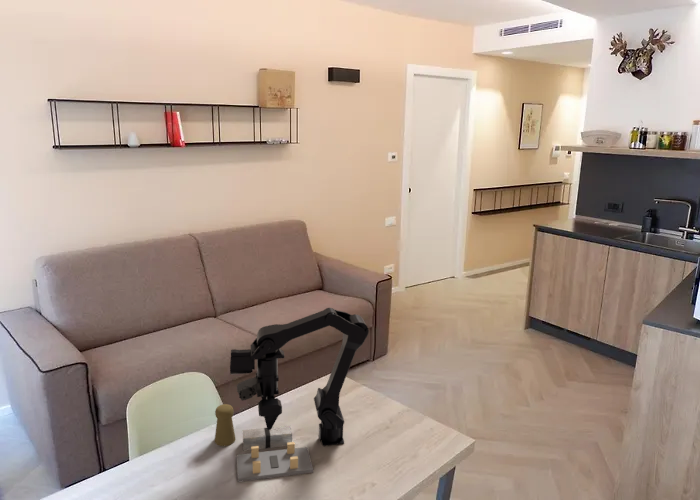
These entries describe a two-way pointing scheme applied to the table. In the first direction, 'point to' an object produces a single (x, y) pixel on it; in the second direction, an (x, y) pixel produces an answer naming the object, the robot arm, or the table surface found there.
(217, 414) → the cork
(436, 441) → the table surface
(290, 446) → the plate
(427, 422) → the table surface
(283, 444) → the air duct
